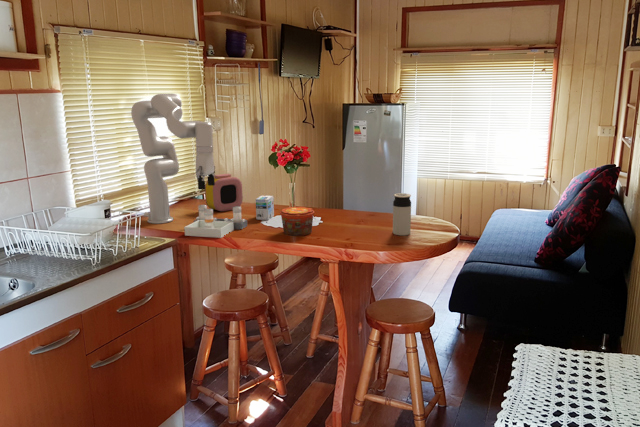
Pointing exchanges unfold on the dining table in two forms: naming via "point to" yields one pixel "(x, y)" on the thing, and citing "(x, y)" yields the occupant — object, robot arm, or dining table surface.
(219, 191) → the alarm clock
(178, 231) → the dining table surface
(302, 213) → the food container
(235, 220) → the right fuse
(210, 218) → the marked fuse
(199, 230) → the tray
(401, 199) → the travel mug
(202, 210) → the left fuse
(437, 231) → the dining table surface
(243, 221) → the fuse block
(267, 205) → the light bulb box
